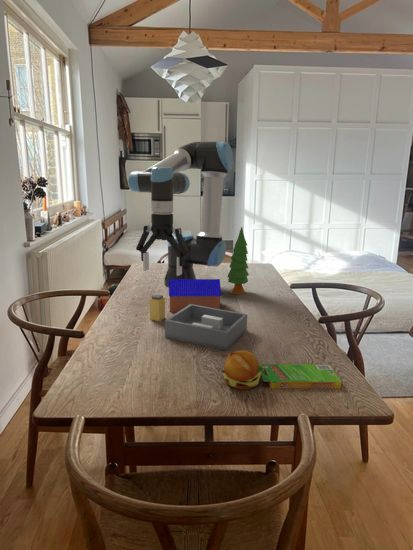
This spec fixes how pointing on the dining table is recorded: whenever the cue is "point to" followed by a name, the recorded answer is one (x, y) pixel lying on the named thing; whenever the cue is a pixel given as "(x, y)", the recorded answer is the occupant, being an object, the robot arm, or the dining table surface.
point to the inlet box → (206, 326)
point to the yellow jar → (157, 307)
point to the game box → (300, 376)
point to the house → (194, 293)
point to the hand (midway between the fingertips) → (162, 272)
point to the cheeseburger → (242, 370)
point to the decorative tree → (239, 265)
